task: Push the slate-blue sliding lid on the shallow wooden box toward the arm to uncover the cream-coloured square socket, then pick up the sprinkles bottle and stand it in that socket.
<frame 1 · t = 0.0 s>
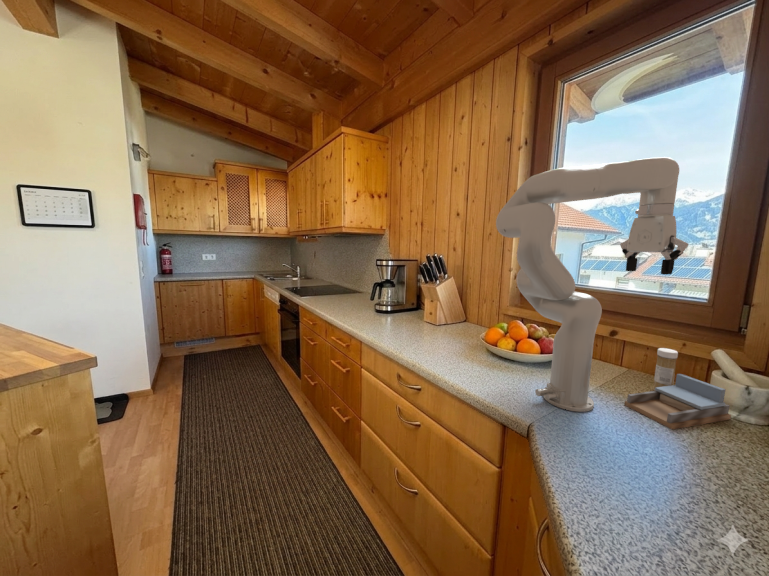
hand: (647, 272, 90), 37 cm above the worktop, tool pointing down, fingers open, 9 cm apart
shallow wooden box: (675, 411, 84), on the worktop
lid: (689, 390, 84), point 6 cm above the worktop, slide at 0.0 cm
sprinkles bottle: (661, 392, 95), on the worktop
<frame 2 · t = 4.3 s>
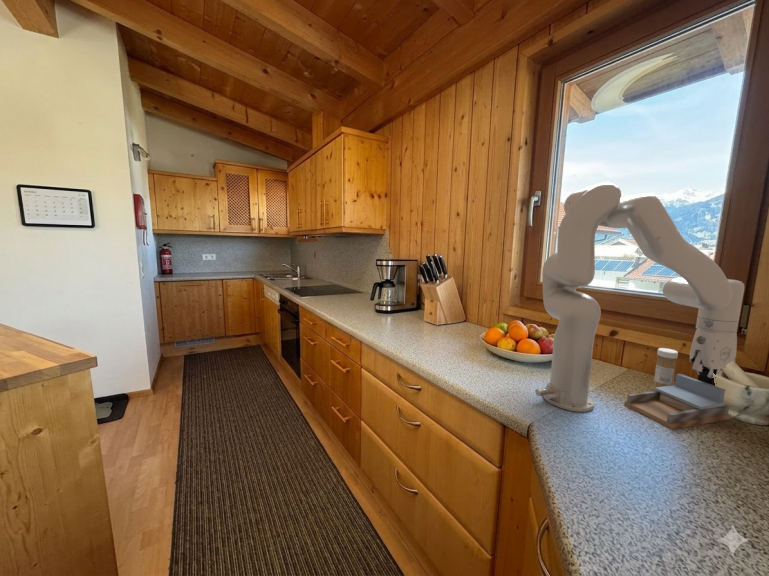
hand: (705, 389, 86), 5 cm above the worktop, tool pointing down, fingers closed
lid: (688, 390, 84), point 6 cm above the worktop, slide at 0.1 cm, touching gripper
everything else where it was.
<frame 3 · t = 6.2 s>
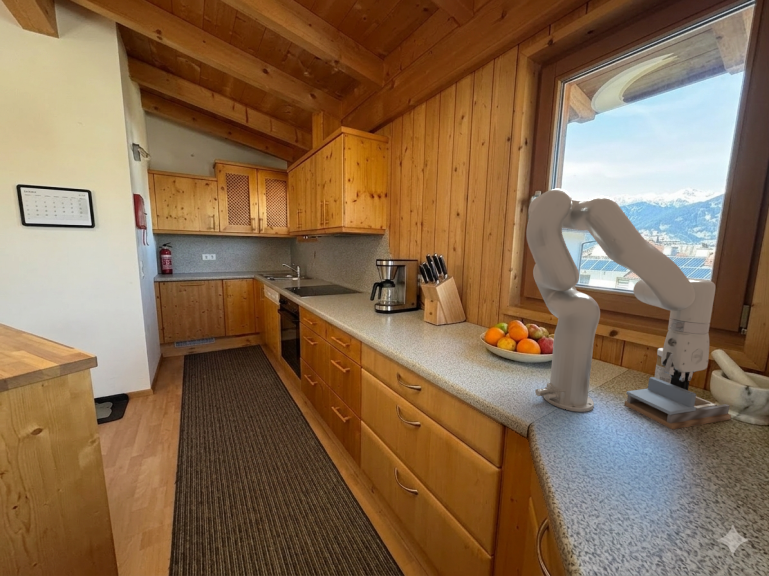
hand: (678, 392, 83), 5 cm above the worktop, tool pointing down, fingers closed
lid: (660, 394, 82), point 6 cm above the worktop, slide at 10.3 cm, touching gripper
everything else where it was.
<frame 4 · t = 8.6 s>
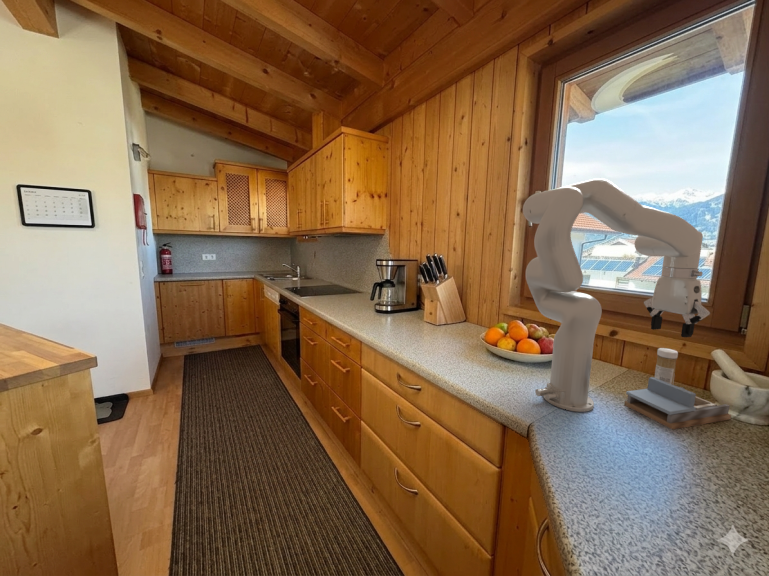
hand: (670, 332, 93), 19 cm above the worktop, tool pointing down, fingers open, 7 cm apart
lid: (659, 394, 82), point 6 cm above the worktop, slide at 10.4 cm
everything else where it was.
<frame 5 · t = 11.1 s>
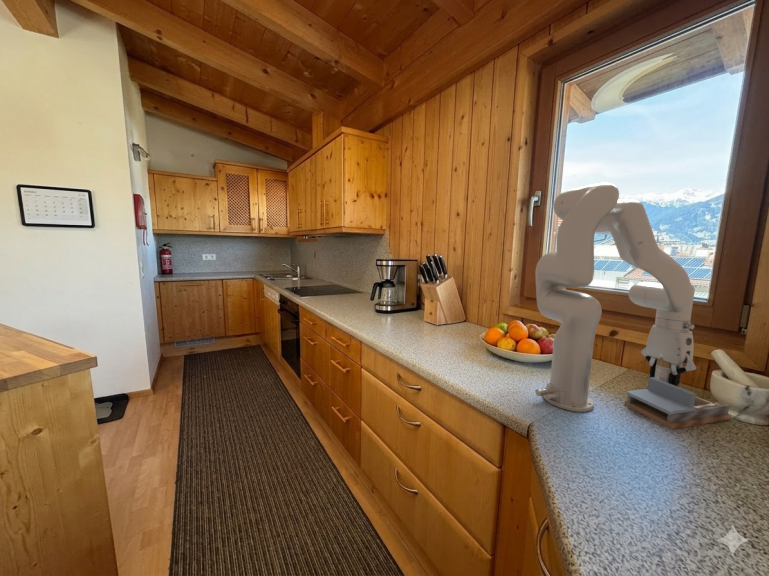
hand: (663, 381, 95), 3 cm above the worktop, tool pointing down, fingers closed on sprinkles bottle, 4 cm apart
sprinkles bottle: (661, 392, 95), on the worktop, touching gripper
everything else where it was.
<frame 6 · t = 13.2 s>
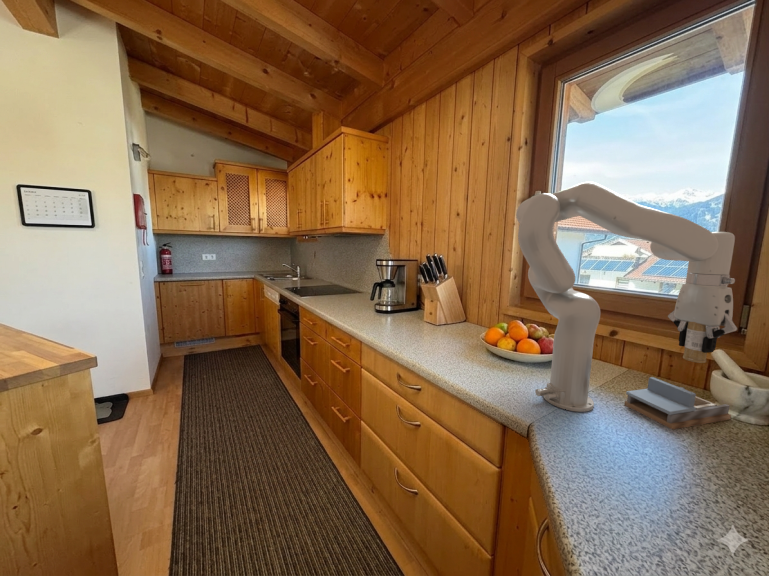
hand: (695, 348, 82), 18 cm above the worktop, tool pointing down, fingers closed on sprinkles bottle, 4 cm apart
sprinkles bottle: (693, 361, 83), point 14 cm above the worktop, touching gripper
everything else where it was.
when the fingers open (6 cm above the worktop, at t = 15.5 s): sprinkles bottle drops 1 cm, resting on shallow wooden box.
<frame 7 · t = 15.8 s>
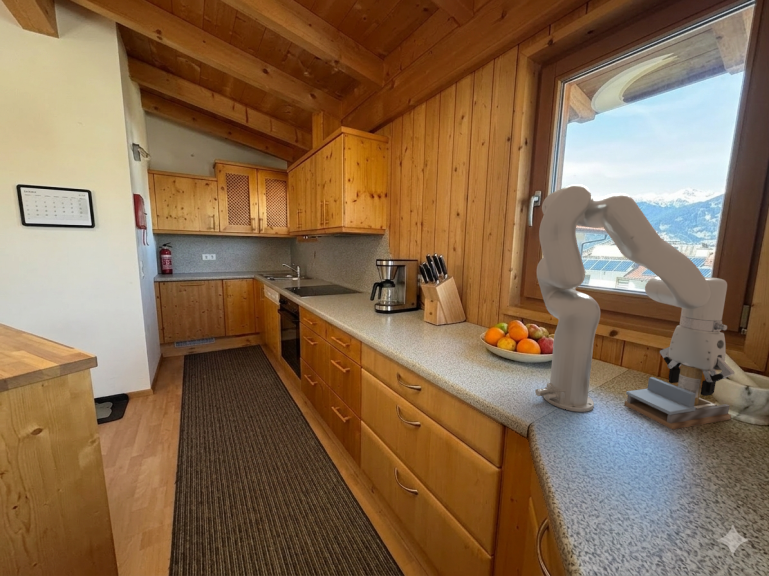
hand: (689, 387, 84), 6 cm above the worktop, tool pointing down, fingers open, 6 cm apart
sprinkles bottle: (686, 406, 85), point 1 cm above the worktop, touching shallow wooden box
everything else where it was.
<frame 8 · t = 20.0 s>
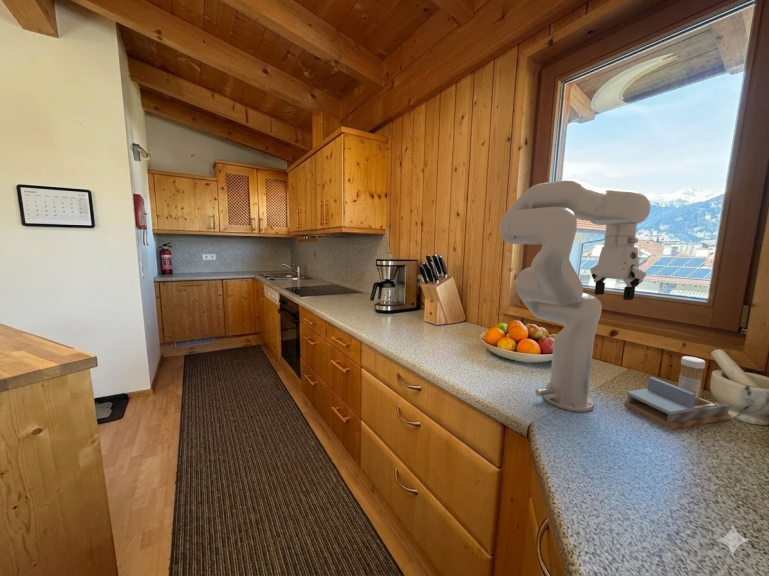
hand: (612, 296, 98), 28 cm above the worktop, tool pointing down, fingers open, 9 cm apart
nothing on the worktop moved.
at the end: lid slide at 10.4 cm; sprinkles bottle 0.1 cm from the target spot, point 1.0 cm above the worktop; sprinkles bottle tilted 0° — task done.
